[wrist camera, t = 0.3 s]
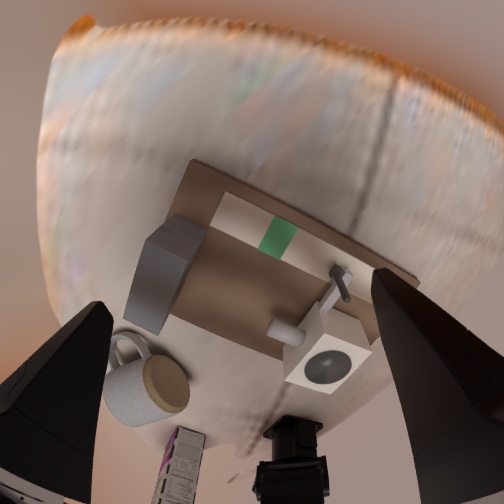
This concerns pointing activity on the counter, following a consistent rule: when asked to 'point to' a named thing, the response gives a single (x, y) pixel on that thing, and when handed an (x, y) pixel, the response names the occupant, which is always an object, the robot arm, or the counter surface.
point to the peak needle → (339, 282)
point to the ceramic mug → (144, 386)
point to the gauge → (322, 344)
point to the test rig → (245, 264)
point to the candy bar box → (180, 468)
